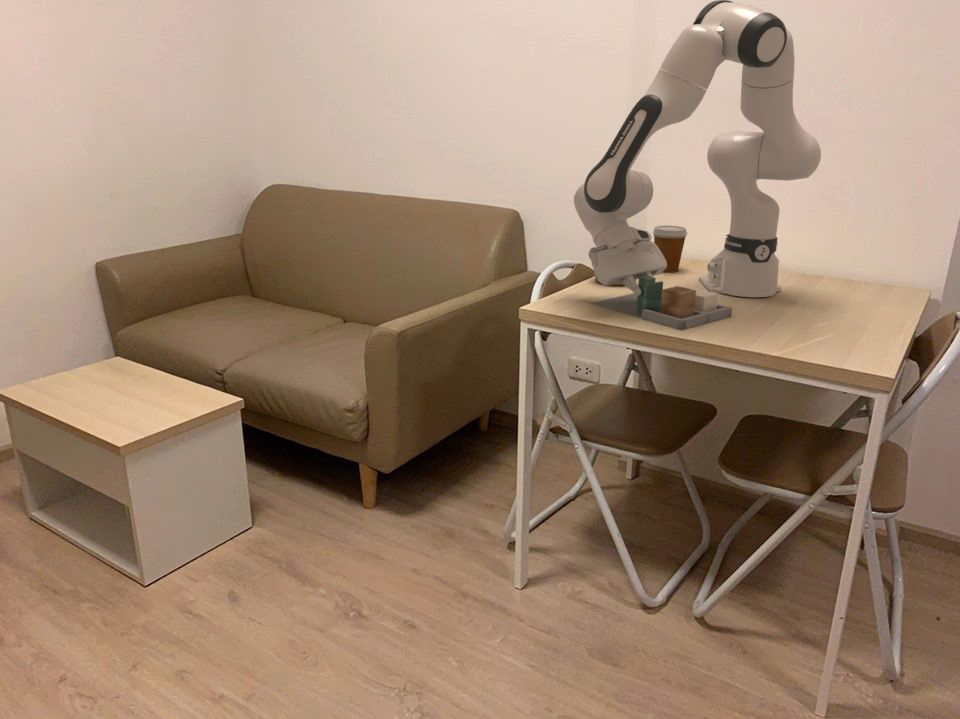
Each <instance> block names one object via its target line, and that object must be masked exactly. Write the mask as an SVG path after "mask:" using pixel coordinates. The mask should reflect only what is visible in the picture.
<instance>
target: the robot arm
mask: <svg viewBox="0 0 960 719" xmlns="http://www.w3.org/2000/svg"><path fill="white" fill-rule="evenodd" d="M791 33H792V32H790V30H789V29H788V28H786V26H785V23H784V22H783V21H782V20H781V19H780V18H779V17H778V16H777V15H775V14H774V13H771V12H767V11H765V10H763V9H762V8H761V9H760V8H758V7H756V6H753V5H749V4H744V3H743V4H742V3H738V2H733V1H731V0H714V1H710V2H709V3H708V4H706V5H705V6H704V7H703V8H702V9H701V10H700V12H699V13H698V15H697V16H696V17H695V19H694V21H693V24H691V25H688V26H687V27H685V28H684V29H683V30H682V31H681V33H680V34H679V35H678V36H677V38H676V40H675V42H674V43H673V44H672V46H671V47H670V49H669V51H668V52H667V54H666V55H665V57H664V60H663V62H662V63H661V65H660V67H659V70H658V72H657V73H656V75H655V77H654V79H653V80H652V82H651V84H650V86H649V87H648V89H647V91H646V92H645V93H644V95H642V97H641V98H640V99H639V100H638V101H637V102H636V103H635V105H634V106H633V107H632V109H631V111H629V113H628V115H627V117H626V119H625V120H624V122H623V123H622V125H621V127H620V129H619V130H618V132H617V133H616V135H615V138H614V139H613V141H612V143H611V144H610V146H609V147H608V149H607V151H606V152H605V154H604V156H603V157H602V159H600V161H599V162H598V163H597V164H596V165H595V166H593V168H592V169H591V170H590V171H589V173H588V174H587V176H586V178H585V180H584V183H583V184H581V185H580V186H579V187H578V188H577V190H576V191H575V194H574V195H573V204H574V207H575V211H576V212H577V216H578V217H579V220H580V221H581V222H582V225H583V226H584V228H585V230H586V231H587V232H588V233H589V234H590V235H591V237H592V242H593V244H594V247H591V248H589V251H588V258H589V259H590V261H591V266H592V269H593V271H594V275H595V274H596V276H597V278H598V280H599V282H600V283H601V284H600V283H599V284H600V285H603V286H609V285H612V284H616V283H621V282H623V283H624V285H625V286H624V287H626V288H628V289H629V290H630V291H632V292H633V293H634V294H635V296H636V297H638V296H642V295H643V294H644V289H643V287H642V286H639V285H638V284H639V283H638V282H634V281H633V280H636V281H637V280H639V277H643V276H650V277H654V276H659V275H661V274H662V273H664V272H663V271H664V270H665V269H666V268H667V262H666V259H665V258H664V256H663V254H662V253H661V251H660V249H659V248H658V246H657V245H656V244H655V243H654V241H652V239H653V237H652V236H653V235H652V234H651V233H650V231H648V230H645V229H644V230H642V229H638V228H636V227H633V226H630V225H629V223H628V222H627V220H628V219H630V218H631V217H635V216H636V215H637V214H638V213H640V212H641V211H643V210H645V209H646V208H647V207H648V206H649V205H650V203H651V201H652V199H653V195H654V186H653V182H652V179H650V177H649V176H648V175H647V174H646V173H644V172H642V171H638V170H634V169H631V168H632V167H633V165H634V163H635V162H636V160H637V159H638V157H639V155H640V153H641V152H642V151H643V149H644V147H645V145H646V144H647V142H648V140H649V139H650V138H651V137H652V136H653V135H654V134H655V133H656V132H658V131H660V130H661V129H663V128H665V127H668V126H671V125H674V124H678V123H681V122H683V121H685V120H687V119H689V118H690V117H691V116H692V115H693V114H694V112H695V111H696V109H698V107H699V105H700V104H701V102H702V101H703V99H704V97H705V94H706V93H707V90H708V88H709V86H710V85H711V82H712V81H713V78H714V75H715V73H716V72H717V69H718V67H719V66H720V65H721V64H722V63H723V62H725V61H731V62H735V63H738V64H742V67H741V83H740V84H741V86H740V111H741V113H742V115H743V117H744V118H745V120H747V121H748V122H750V123H751V124H753V125H755V126H756V127H758V128H760V129H761V131H731V132H725V133H721V134H718V135H716V136H715V138H714V139H713V140H712V141H711V142H710V144H709V146H708V150H707V154H706V159H707V164H708V167H709V168H710V171H711V172H712V173H714V175H715V176H717V177H718V178H719V179H720V180H721V182H722V183H723V184H724V186H725V188H726V189H727V192H728V195H729V200H730V209H731V210H730V211H731V212H730V226H729V233H728V234H726V235H725V238H724V239H725V242H724V246H723V247H724V248H723V249H721V251H720V252H719V253H718V254H717V255H715V256H714V257H712V259H711V260H710V262H709V263H707V267H706V268H707V271H708V274H703V275H700V276H699V277H698V280H699V281H700V282H701V284H702V285H703V286H704V287H705V288H706V289H707V291H709V292H713V293H717V294H722V295H723V294H725V295H729V296H734V297H743V298H744V297H745V298H766V297H767V298H768V297H772V296H775V295H776V293H777V292H782V291H781V290H782V286H781V285H778V284H779V283H778V281H779V262H780V261H779V258H778V257H777V256H776V252H777V247H778V237H777V232H778V224H779V219H780V218H779V216H780V211H781V210H780V206H779V204H778V202H777V201H776V200H775V199H774V198H773V197H772V196H770V195H768V194H766V193H765V192H762V190H760V189H759V187H758V184H757V180H767V181H768V180H771V181H796V180H801V179H802V180H803V179H807V178H809V177H811V176H812V175H814V173H815V172H816V170H817V169H818V167H819V165H820V162H821V158H822V151H821V146H820V144H819V142H818V140H817V139H816V137H814V136H813V135H811V134H810V133H808V132H807V131H806V129H804V128H803V127H802V125H801V124H800V122H799V121H798V119H797V117H796V114H795V110H794V102H793V101H794V97H793V96H794V78H795V49H794V45H795V44H794V39H793V35H792V34H791ZM595 246H596V247H595Z"/></svg>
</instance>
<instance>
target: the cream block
mask: <svg viewBox="0 0 960 719" xmlns="http://www.w3.org/2000/svg"><path fill="white" fill-rule="evenodd" d="M695 290H696V296H695V306H694V310H698V311H701V312H709V311H713V310H717V304H718V303H719V302H718V300H719V293H714V292H710V291H709V290H704V289H695Z"/></svg>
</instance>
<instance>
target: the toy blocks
mask: <svg viewBox="0 0 960 719" xmlns="http://www.w3.org/2000/svg"><path fill="white" fill-rule="evenodd" d="M637 284H638V285H639V286H642V287H643V289H644V294H643V295H642V296H638V297H637V309H636V312H639V313H642V310H643V309H648V310H652V311H655V312H659V313H662V314H666V315H670V316H673V317H677V318H680V319H683V318H687V317H690V316H694V306H695V296H696V290H697V289H691V288H687V287H683V286H679V285H677V286H672V287H667V288H664V281H661V280H660V281H656V277H654V276H653V277H650V276H643V277H639V279H638V283H637ZM661 302H662V303H661Z"/></svg>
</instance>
